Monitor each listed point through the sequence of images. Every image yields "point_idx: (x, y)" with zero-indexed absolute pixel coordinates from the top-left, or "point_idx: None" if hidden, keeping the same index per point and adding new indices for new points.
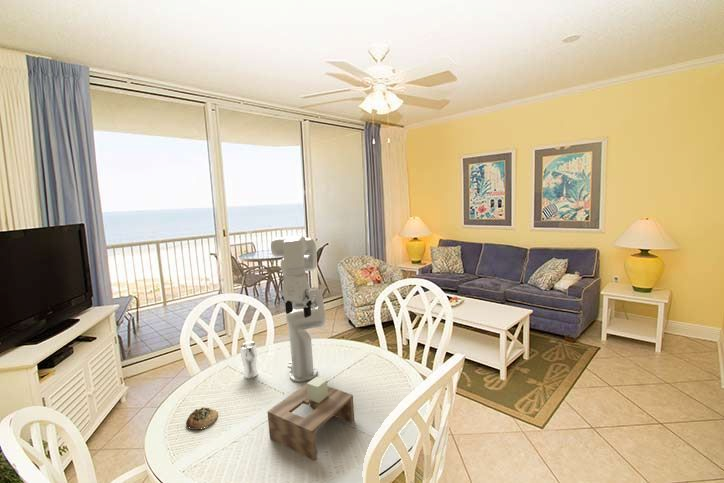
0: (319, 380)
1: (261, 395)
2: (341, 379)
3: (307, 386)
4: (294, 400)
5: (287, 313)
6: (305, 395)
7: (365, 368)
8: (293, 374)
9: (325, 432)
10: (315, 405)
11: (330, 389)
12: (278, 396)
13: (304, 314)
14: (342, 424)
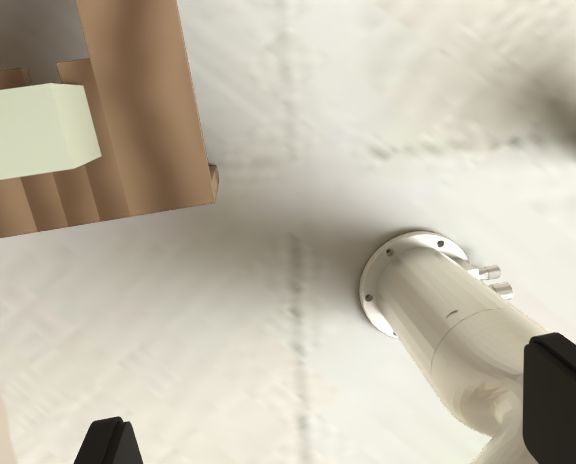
0: (20, 151)
1: (443, 83)
2: (261, 355)
3: (55, 84)
4: (125, 30)
5: (535, 347)
6: (121, 97)
7: (244, 456)
8: (435, 250)
9: None
10: (5, 71)
11: (70, 210)
12: (377, 125)
13: (98, 454)
14: None
